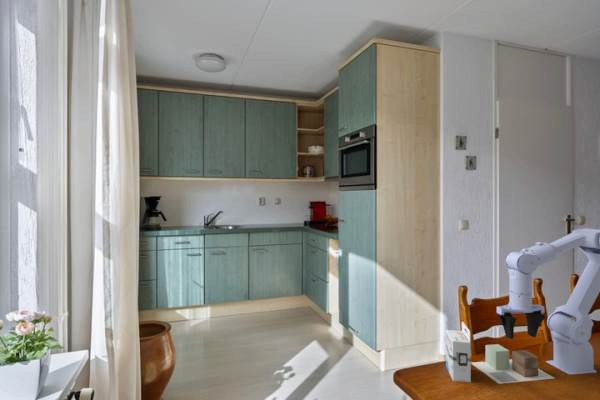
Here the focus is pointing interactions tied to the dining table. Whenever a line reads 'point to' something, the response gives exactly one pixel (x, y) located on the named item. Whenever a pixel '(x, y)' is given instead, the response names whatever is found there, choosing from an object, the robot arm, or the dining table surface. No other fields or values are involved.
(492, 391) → the dining table surface
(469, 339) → the ink box
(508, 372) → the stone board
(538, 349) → the dining table surface
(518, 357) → the walnut block
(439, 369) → the dining table surface
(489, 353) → the sage block
